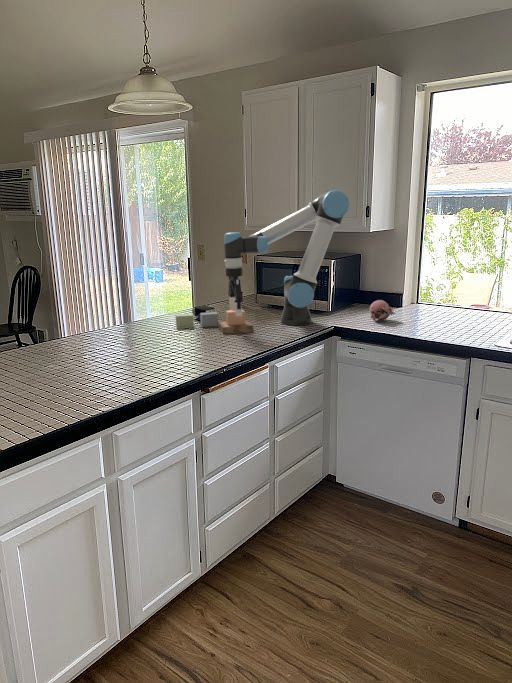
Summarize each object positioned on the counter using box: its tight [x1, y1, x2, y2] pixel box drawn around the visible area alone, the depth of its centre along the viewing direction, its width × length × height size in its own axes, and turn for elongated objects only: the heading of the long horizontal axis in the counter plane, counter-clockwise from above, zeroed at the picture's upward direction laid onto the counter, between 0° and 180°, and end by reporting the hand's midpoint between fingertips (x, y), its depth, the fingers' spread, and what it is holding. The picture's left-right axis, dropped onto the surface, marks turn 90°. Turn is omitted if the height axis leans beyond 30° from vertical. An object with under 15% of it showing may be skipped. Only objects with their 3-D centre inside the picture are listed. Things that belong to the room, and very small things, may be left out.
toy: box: [368, 299, 396, 323], centre depth 254 cm, size 12×11×15 cm
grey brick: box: [199, 311, 219, 328], centre depth 254 cm, size 8×5×6 cm, turn 104°
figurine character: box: [191, 305, 215, 320], centre depth 266 cm, size 7×8×15 cm
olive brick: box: [174, 313, 195, 330], centre depth 251 cm, size 8×5×6 cm, turn 104°
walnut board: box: [217, 319, 254, 335], centre depth 243 cm, size 14×12×3 cm
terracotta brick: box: [225, 308, 246, 325], centre depth 242 cm, size 8×5×6 cm, turn 104°
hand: (235, 313), depth 242 cm, fingers open, 13 cm apart
